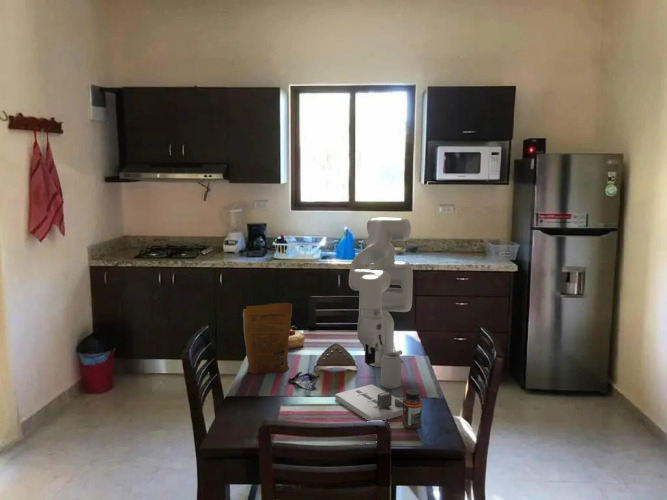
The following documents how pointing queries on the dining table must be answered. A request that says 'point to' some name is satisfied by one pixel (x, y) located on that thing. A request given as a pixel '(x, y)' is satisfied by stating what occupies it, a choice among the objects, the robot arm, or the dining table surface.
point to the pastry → (295, 339)
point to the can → (391, 370)
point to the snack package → (305, 379)
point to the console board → (369, 403)
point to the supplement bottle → (412, 409)
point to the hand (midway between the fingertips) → (369, 362)
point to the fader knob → (384, 400)
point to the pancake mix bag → (267, 337)
